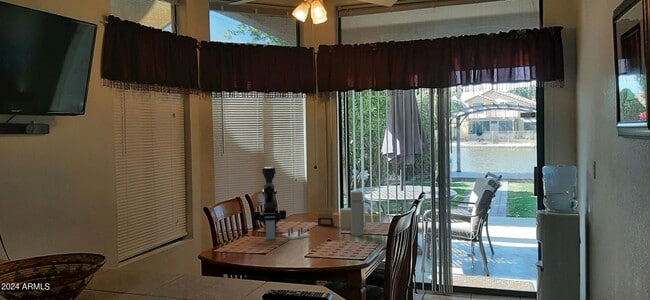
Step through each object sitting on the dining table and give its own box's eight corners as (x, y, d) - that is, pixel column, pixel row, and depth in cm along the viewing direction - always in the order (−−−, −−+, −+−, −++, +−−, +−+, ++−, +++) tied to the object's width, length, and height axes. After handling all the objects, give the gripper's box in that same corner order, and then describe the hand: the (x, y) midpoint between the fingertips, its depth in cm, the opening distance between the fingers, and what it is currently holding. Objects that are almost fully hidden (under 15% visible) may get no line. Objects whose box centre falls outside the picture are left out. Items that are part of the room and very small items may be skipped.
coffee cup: (358, 227, 300) (357, 208, 299) (348, 230, 293) (348, 210, 293) (346, 226, 306) (346, 207, 306) (337, 228, 299) (336, 209, 299)
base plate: (281, 236, 280) (281, 228, 280) (299, 233, 287) (299, 225, 287) (291, 239, 270) (291, 231, 270) (309, 236, 277) (309, 228, 277)
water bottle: (348, 235, 276) (347, 192, 275) (354, 233, 283) (353, 191, 282) (363, 237, 272) (362, 193, 271) (369, 234, 279) (368, 191, 278)
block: (266, 237, 275) (265, 220, 275) (274, 237, 276) (274, 220, 275) (266, 239, 270) (265, 222, 270) (275, 239, 271) (274, 221, 271)
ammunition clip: (334, 225, 309) (333, 207, 309) (333, 226, 307) (332, 207, 307) (318, 224, 313) (318, 206, 312) (317, 225, 311) (317, 206, 311)
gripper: (252, 197, 275) (252, 219, 264) (285, 196, 277) (286, 218, 267) (253, 208, 283) (253, 231, 273) (285, 207, 285) (286, 229, 275)
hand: (270, 227), depth 271 cm, fingers closed on block, 5 cm apart
